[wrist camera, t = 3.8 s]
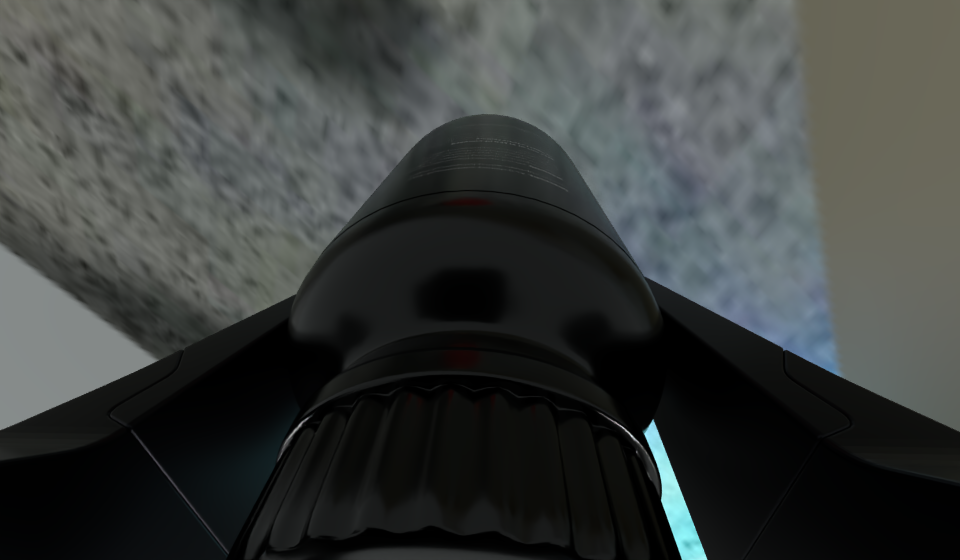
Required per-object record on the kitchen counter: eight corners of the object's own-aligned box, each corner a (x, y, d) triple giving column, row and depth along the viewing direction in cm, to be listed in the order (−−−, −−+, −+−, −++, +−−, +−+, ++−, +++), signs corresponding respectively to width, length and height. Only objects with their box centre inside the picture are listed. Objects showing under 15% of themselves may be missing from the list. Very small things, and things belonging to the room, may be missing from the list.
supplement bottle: (364, 230, 15) (38, 647, 4) (461, 63, 12) (139, 144, 1) (506, 316, 16) (513, 758, 6) (623, 191, 13) (1025, 653, 3)
